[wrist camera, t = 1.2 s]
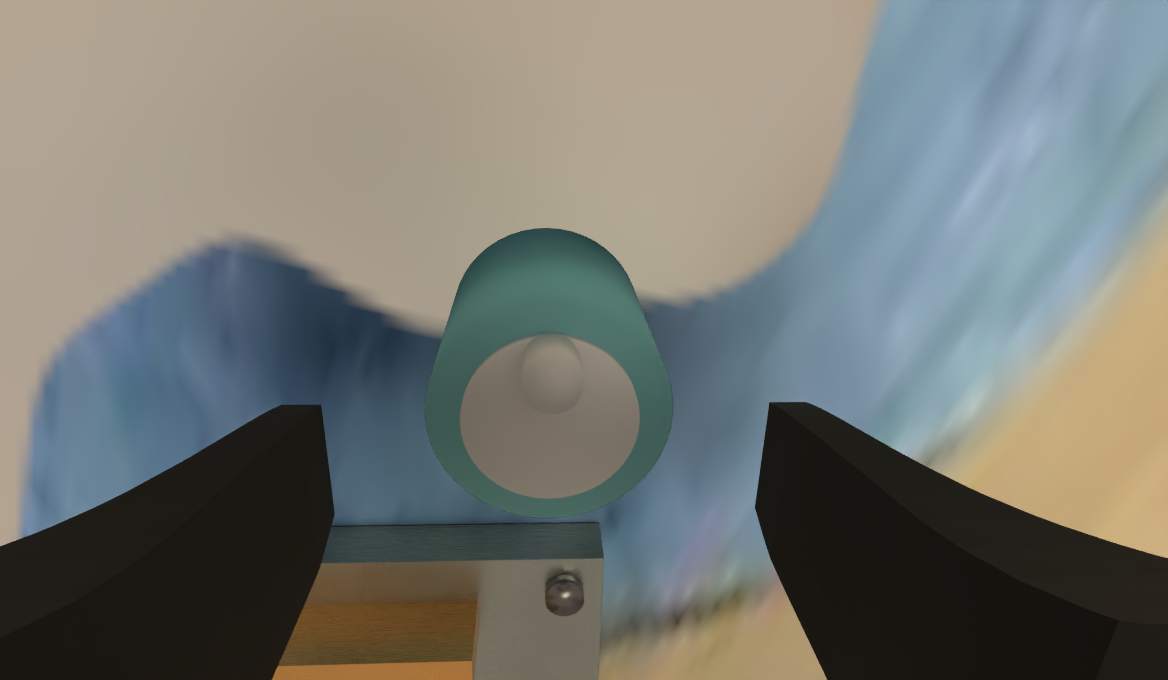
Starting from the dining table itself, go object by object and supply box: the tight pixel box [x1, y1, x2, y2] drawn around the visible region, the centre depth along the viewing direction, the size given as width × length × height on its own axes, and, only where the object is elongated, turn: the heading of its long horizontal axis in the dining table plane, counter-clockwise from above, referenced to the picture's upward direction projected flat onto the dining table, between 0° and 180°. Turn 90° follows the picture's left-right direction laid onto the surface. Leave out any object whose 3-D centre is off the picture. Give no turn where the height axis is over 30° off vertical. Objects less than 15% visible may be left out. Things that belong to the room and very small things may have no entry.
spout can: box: [425, 228, 673, 518], centre depth 15 cm, size 4×4×6 cm
